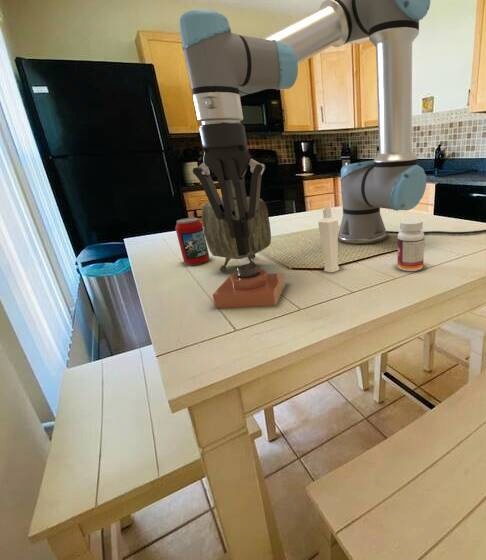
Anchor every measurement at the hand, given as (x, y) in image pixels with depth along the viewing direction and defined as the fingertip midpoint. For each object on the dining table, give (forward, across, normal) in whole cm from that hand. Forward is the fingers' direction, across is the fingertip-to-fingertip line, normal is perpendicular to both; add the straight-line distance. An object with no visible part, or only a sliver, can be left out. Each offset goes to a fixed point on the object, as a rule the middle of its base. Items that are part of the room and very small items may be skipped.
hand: (244, 253), depth 67 cm
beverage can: (+10, -23, +25) cm, 35 cm away
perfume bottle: (+10, +16, +14) cm, 23 cm away
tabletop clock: (+10, -7, +19) cm, 23 cm away
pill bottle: (+10, +35, +13) cm, 39 cm away
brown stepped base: (+10, 0, 0) cm, 10 cm away
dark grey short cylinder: (+5, 0, 0) cm, 5 cm away
